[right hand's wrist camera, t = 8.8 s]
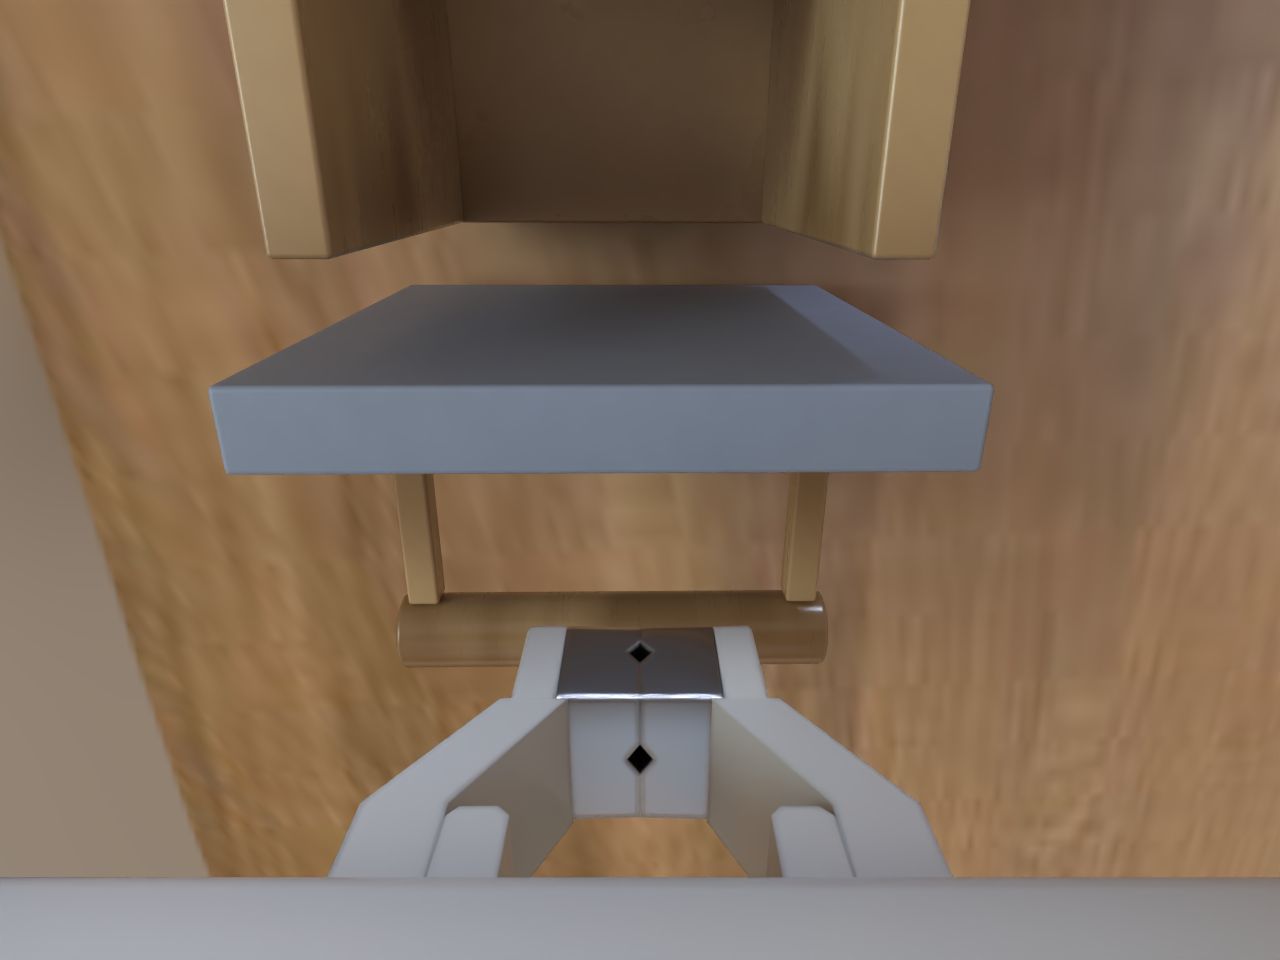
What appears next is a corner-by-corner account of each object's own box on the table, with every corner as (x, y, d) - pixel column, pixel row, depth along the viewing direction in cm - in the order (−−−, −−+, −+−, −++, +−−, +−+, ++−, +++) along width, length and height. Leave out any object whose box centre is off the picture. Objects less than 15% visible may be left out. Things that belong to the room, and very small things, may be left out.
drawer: (795, 535, 21) (922, 799, 12) (435, 537, 21) (294, 807, 12) (889, -537, 13) (1429, -1992, 4) (320, -547, 13) (-327, -2085, 4)
